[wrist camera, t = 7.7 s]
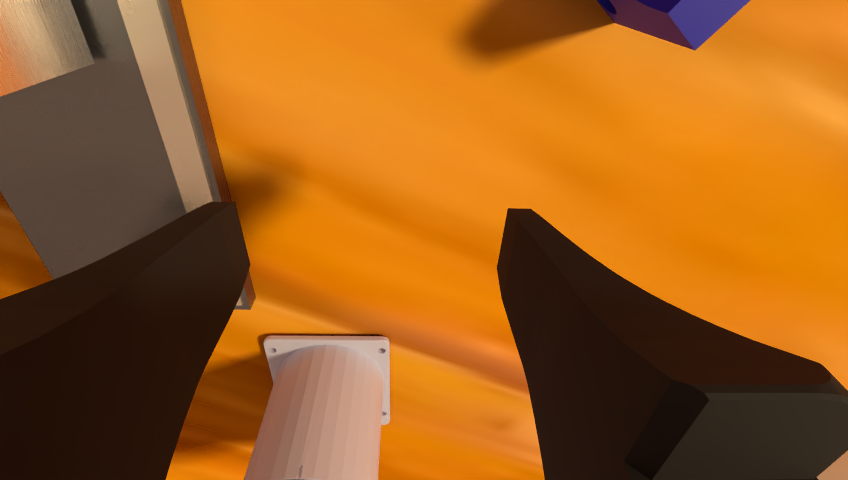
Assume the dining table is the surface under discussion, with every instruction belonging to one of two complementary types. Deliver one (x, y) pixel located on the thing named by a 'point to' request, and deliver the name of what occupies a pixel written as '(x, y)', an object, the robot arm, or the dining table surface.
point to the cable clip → (674, 17)
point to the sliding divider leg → (39, 42)
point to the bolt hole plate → (112, 139)
